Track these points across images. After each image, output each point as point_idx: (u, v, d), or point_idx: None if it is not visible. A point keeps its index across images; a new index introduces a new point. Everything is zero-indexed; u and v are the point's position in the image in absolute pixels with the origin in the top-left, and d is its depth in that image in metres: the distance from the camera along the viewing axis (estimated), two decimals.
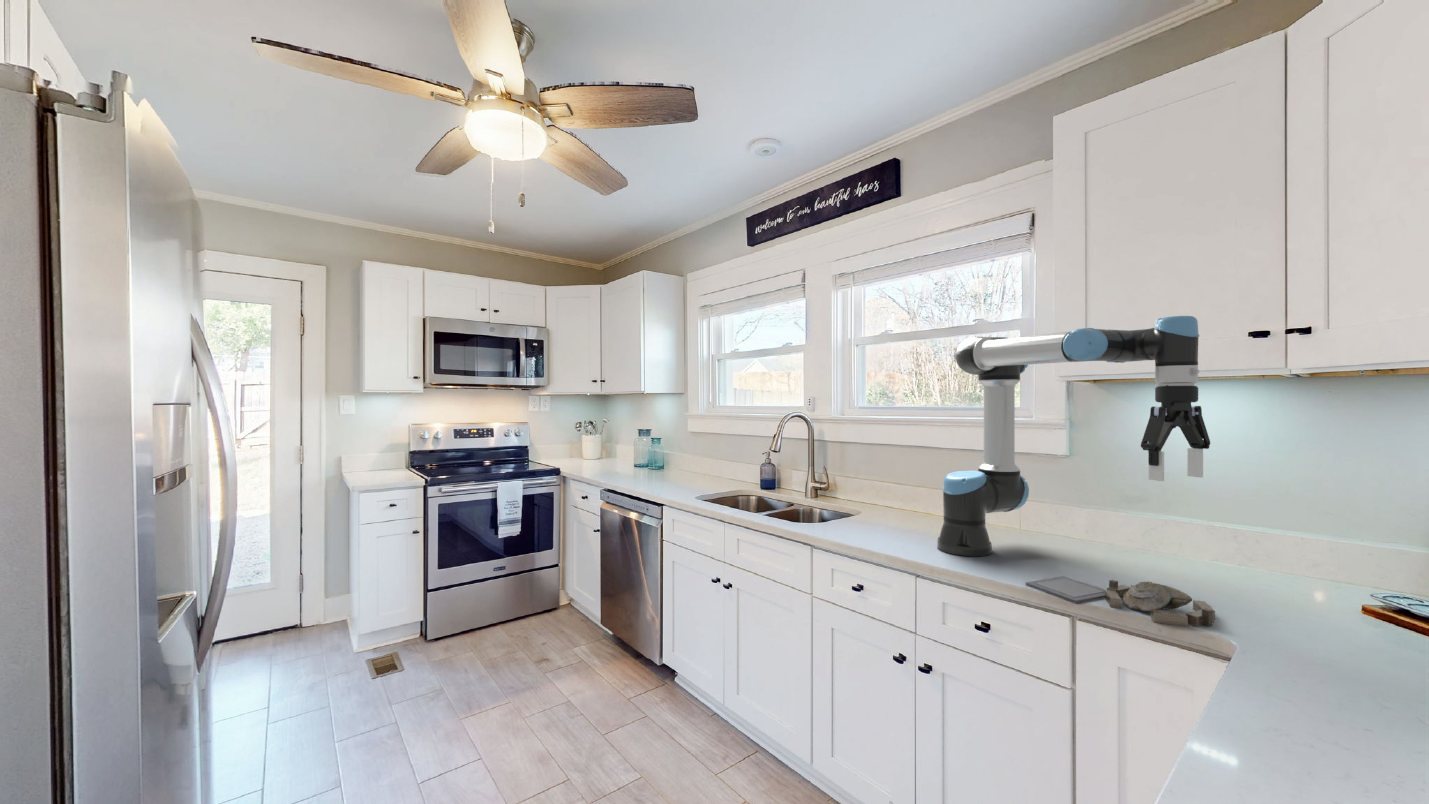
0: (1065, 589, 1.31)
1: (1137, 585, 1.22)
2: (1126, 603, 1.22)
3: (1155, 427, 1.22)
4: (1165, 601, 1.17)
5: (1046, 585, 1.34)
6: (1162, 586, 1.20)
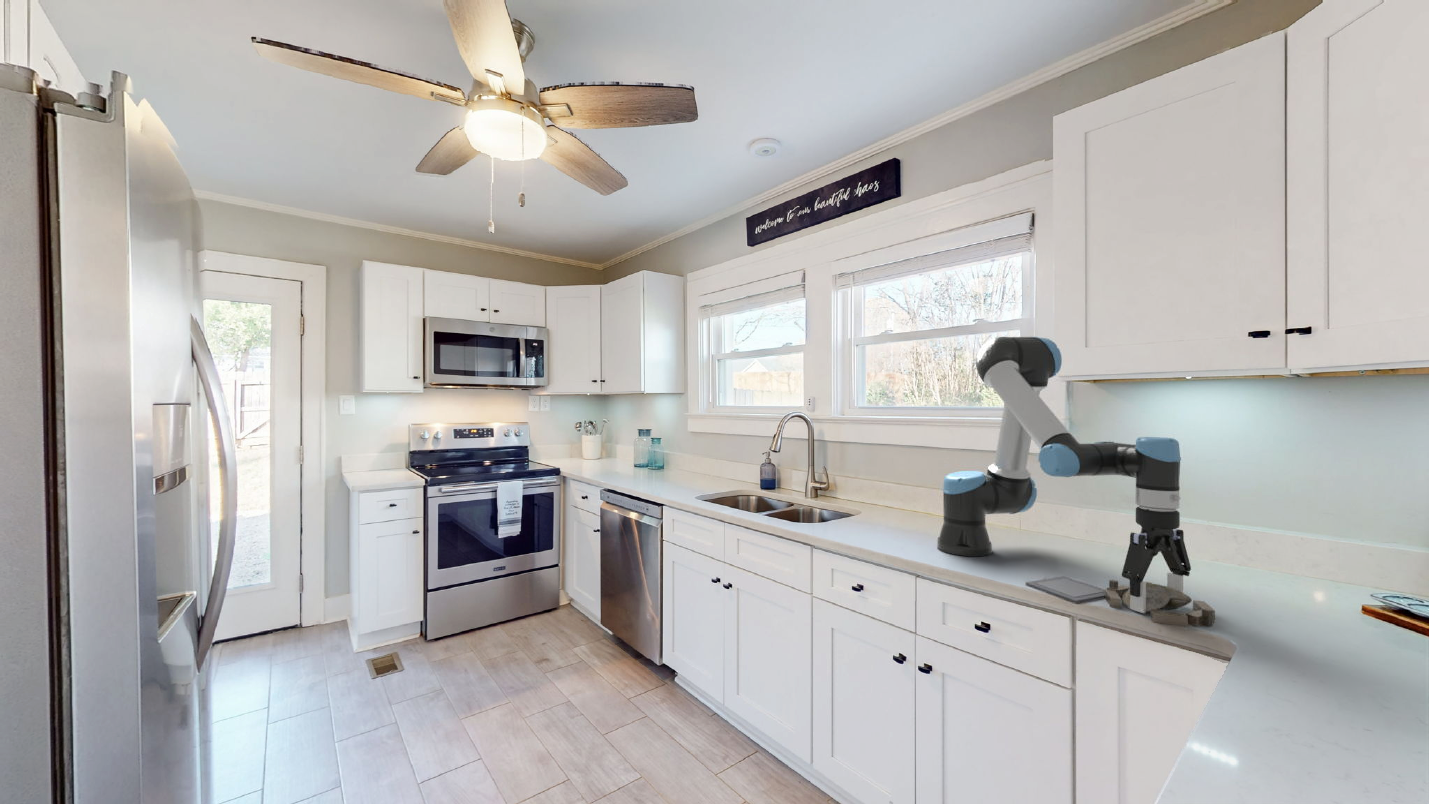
0: (1065, 589, 1.31)
1: None
2: (1125, 604, 1.22)
3: (1135, 557, 1.17)
4: (1164, 602, 1.17)
5: (1046, 585, 1.34)
6: (1161, 587, 1.20)
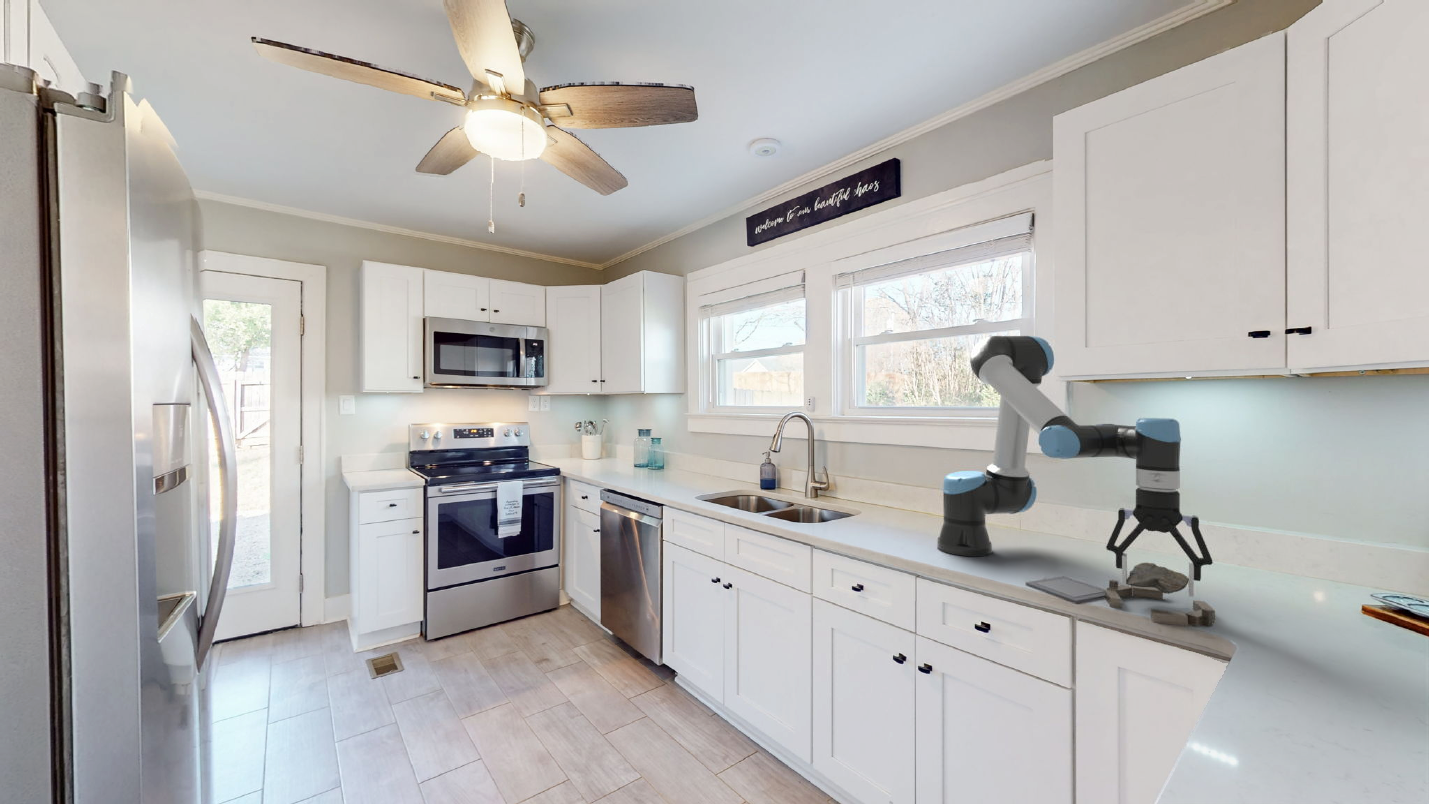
0: (1065, 589, 1.31)
1: (1140, 564, 1.25)
2: None
3: None
4: (1144, 579, 1.20)
5: (1046, 585, 1.34)
6: (1162, 569, 1.20)
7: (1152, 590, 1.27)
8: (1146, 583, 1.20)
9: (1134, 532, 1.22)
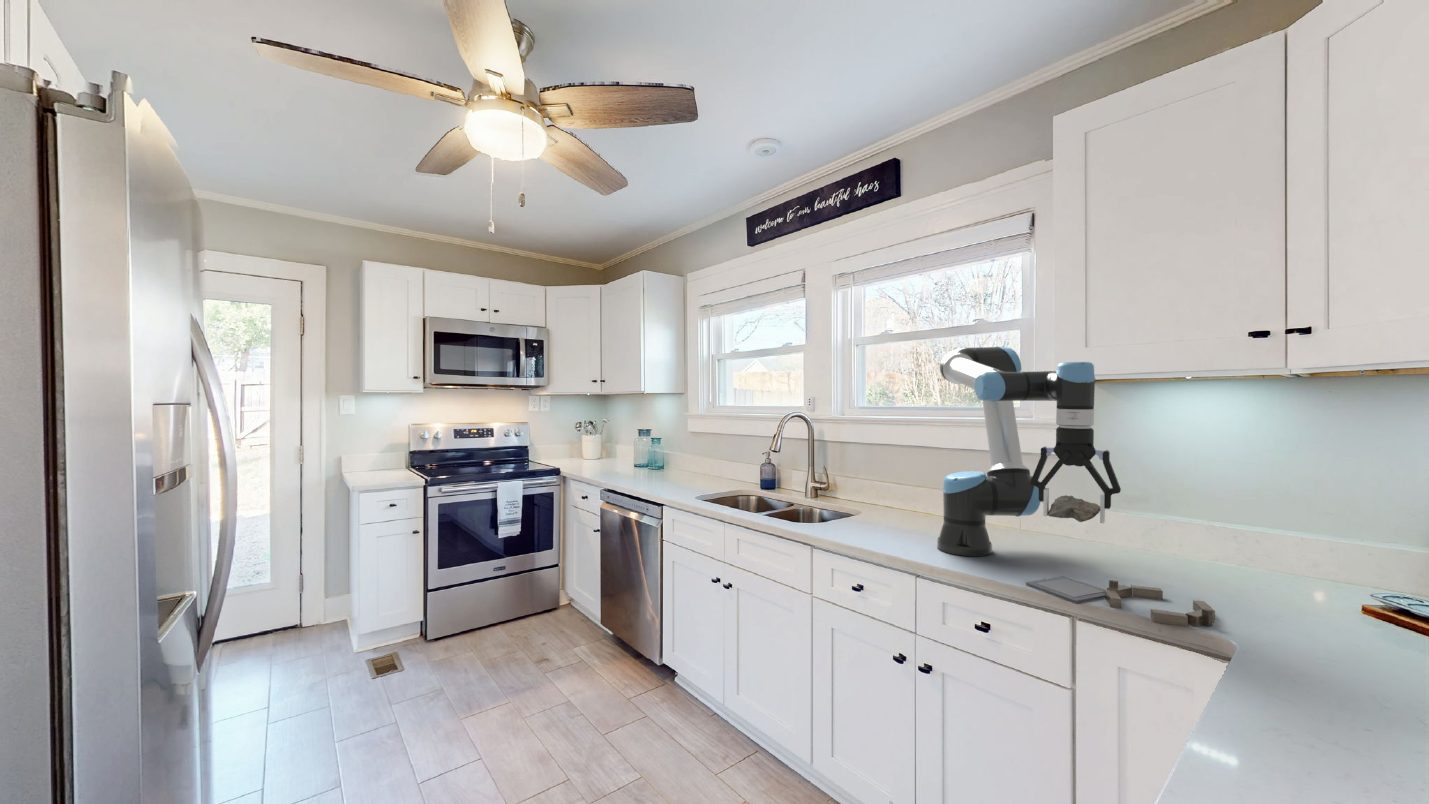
0: (1065, 589, 1.31)
1: None
2: None
3: (1037, 466, 1.36)
4: (1061, 509, 1.31)
5: (1046, 585, 1.34)
6: (1078, 500, 1.31)
7: (1152, 590, 1.27)
8: (1063, 513, 1.31)
9: (1054, 467, 1.33)
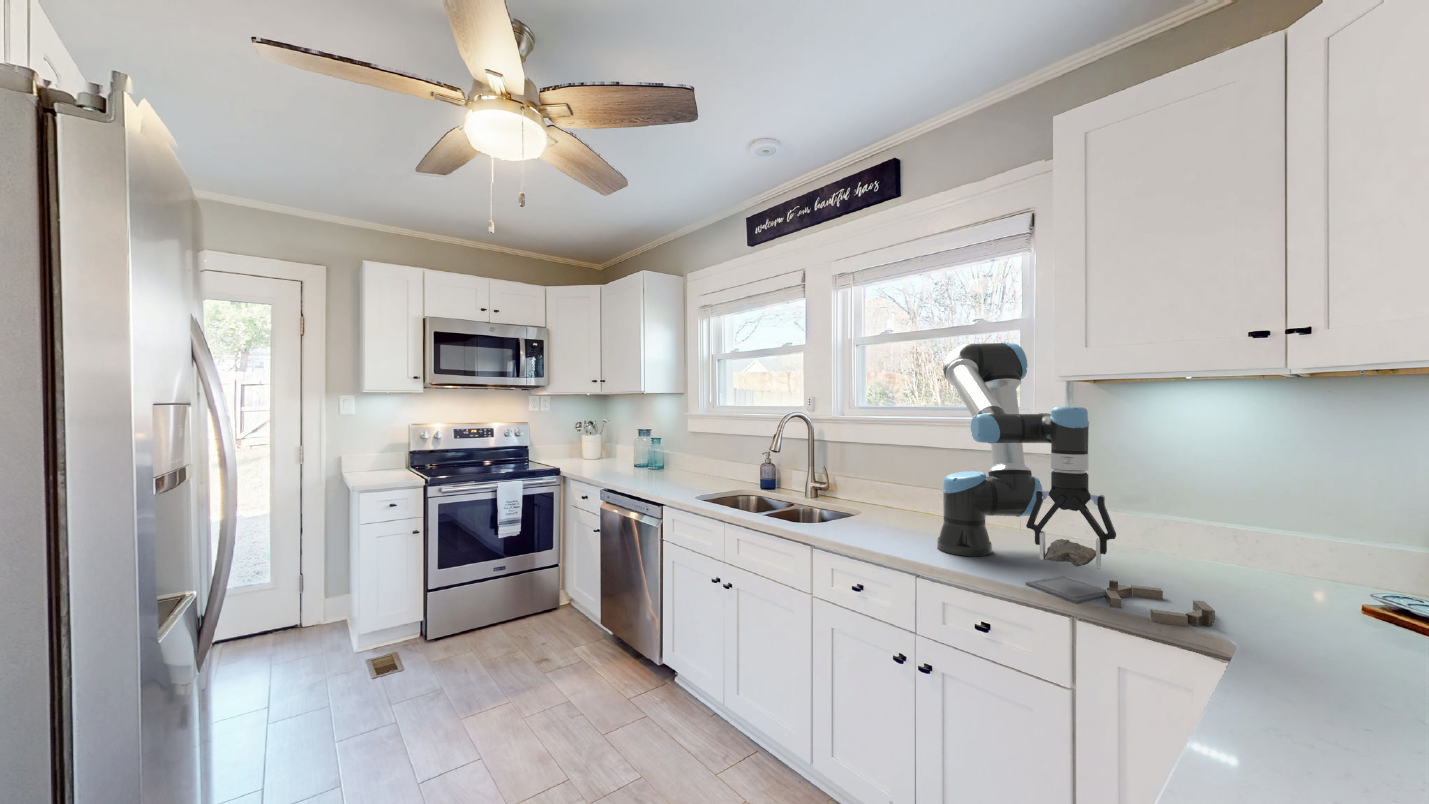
0: (1065, 589, 1.31)
1: None
2: None
3: (1032, 509, 1.37)
4: (1057, 553, 1.31)
5: (1046, 585, 1.34)
6: (1074, 544, 1.31)
7: (1152, 590, 1.27)
8: (1059, 557, 1.32)
9: (1050, 511, 1.34)
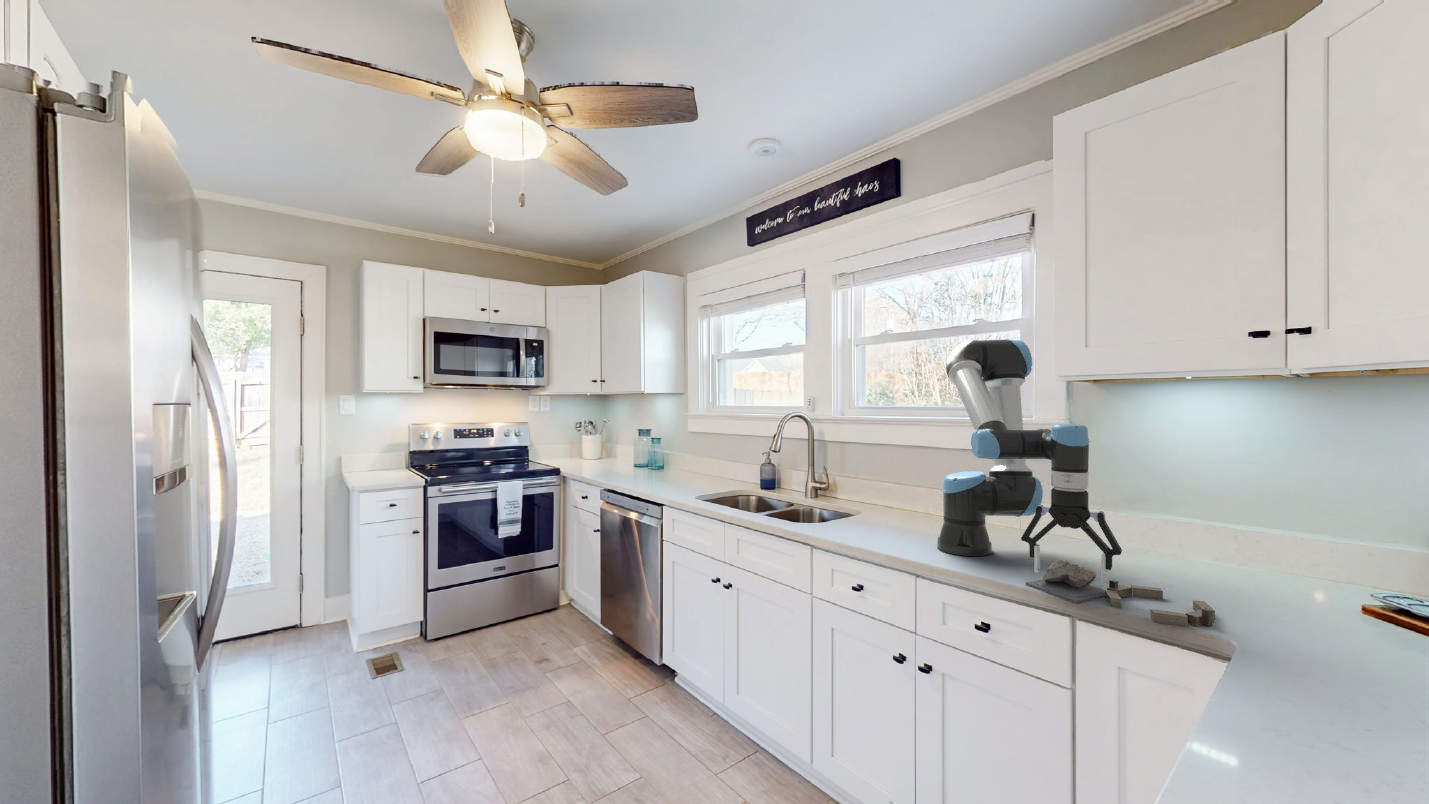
0: (1065, 589, 1.31)
1: None
2: None
3: (1030, 523, 1.37)
4: (1056, 575, 1.32)
5: (1046, 585, 1.34)
6: (1073, 566, 1.32)
7: (1152, 590, 1.27)
8: (1058, 579, 1.32)
9: (1047, 526, 1.34)
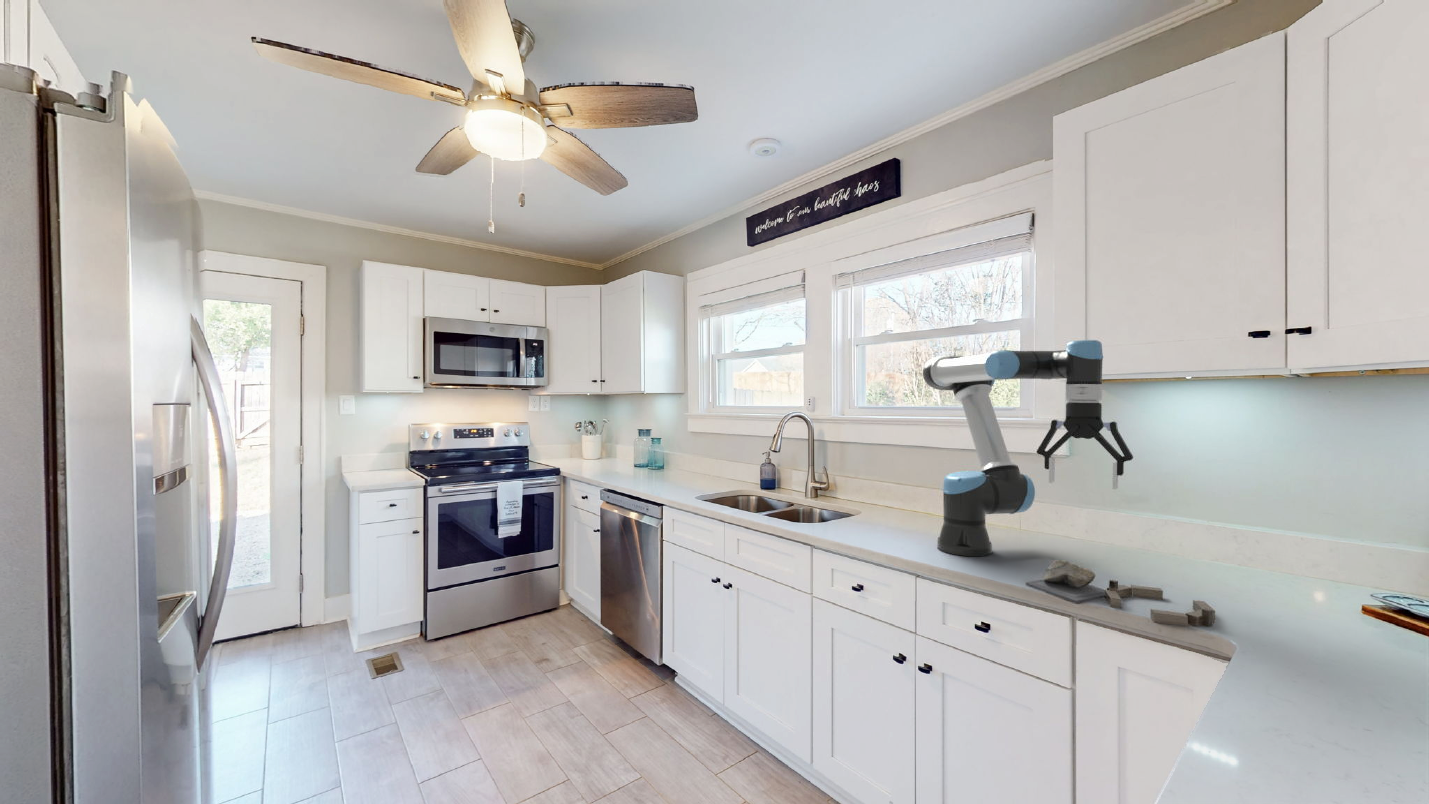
0: (1065, 589, 1.31)
1: None
2: None
3: None
4: (1056, 575, 1.32)
5: (1046, 585, 1.34)
6: (1073, 566, 1.32)
7: (1152, 590, 1.27)
8: (1058, 579, 1.32)
9: (1062, 438, 1.42)
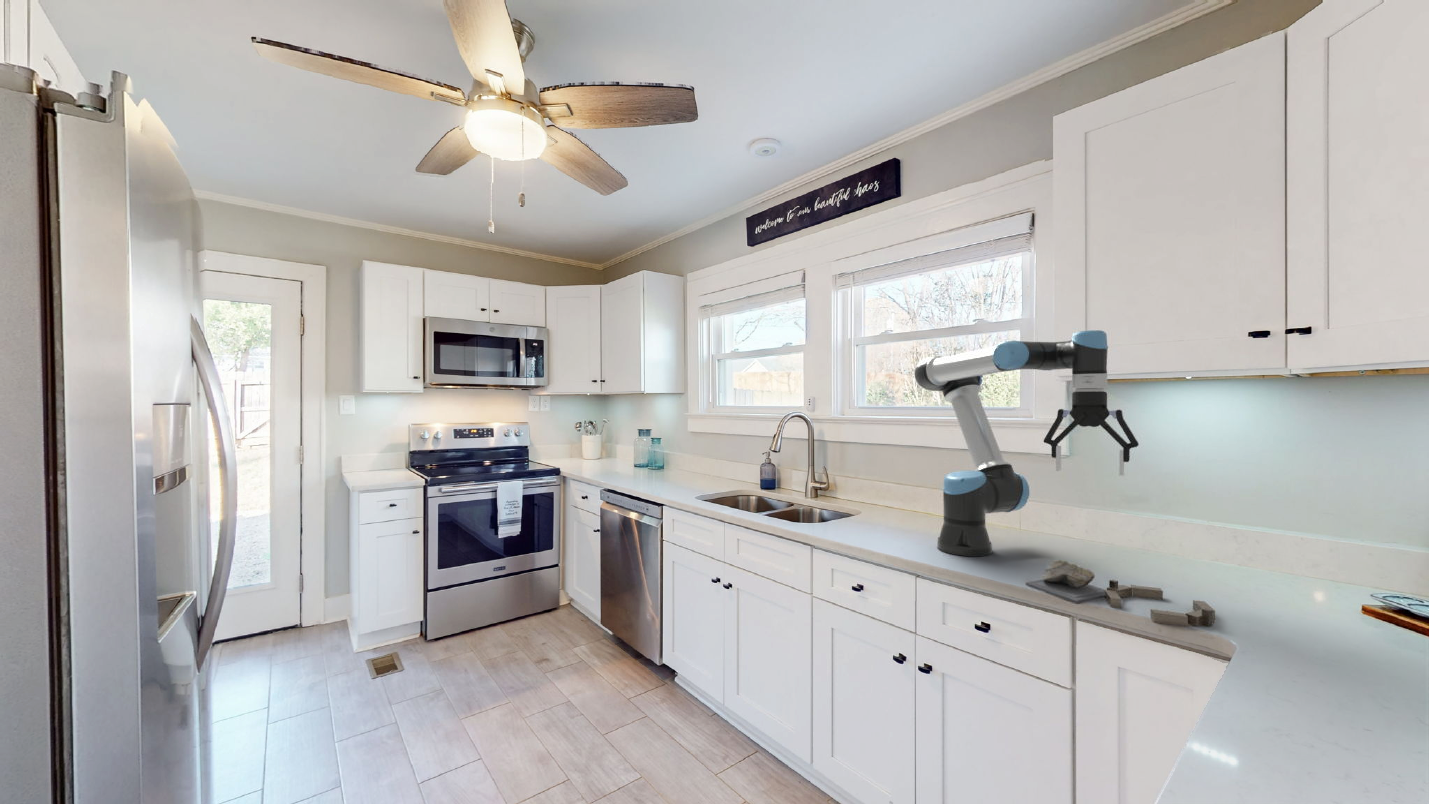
0: (1065, 589, 1.31)
1: None
2: None
3: (1052, 426, 1.48)
4: (1055, 575, 1.32)
5: (1046, 585, 1.34)
6: (1072, 566, 1.32)
7: (1152, 590, 1.27)
8: (1057, 579, 1.32)
9: (1068, 427, 1.45)
